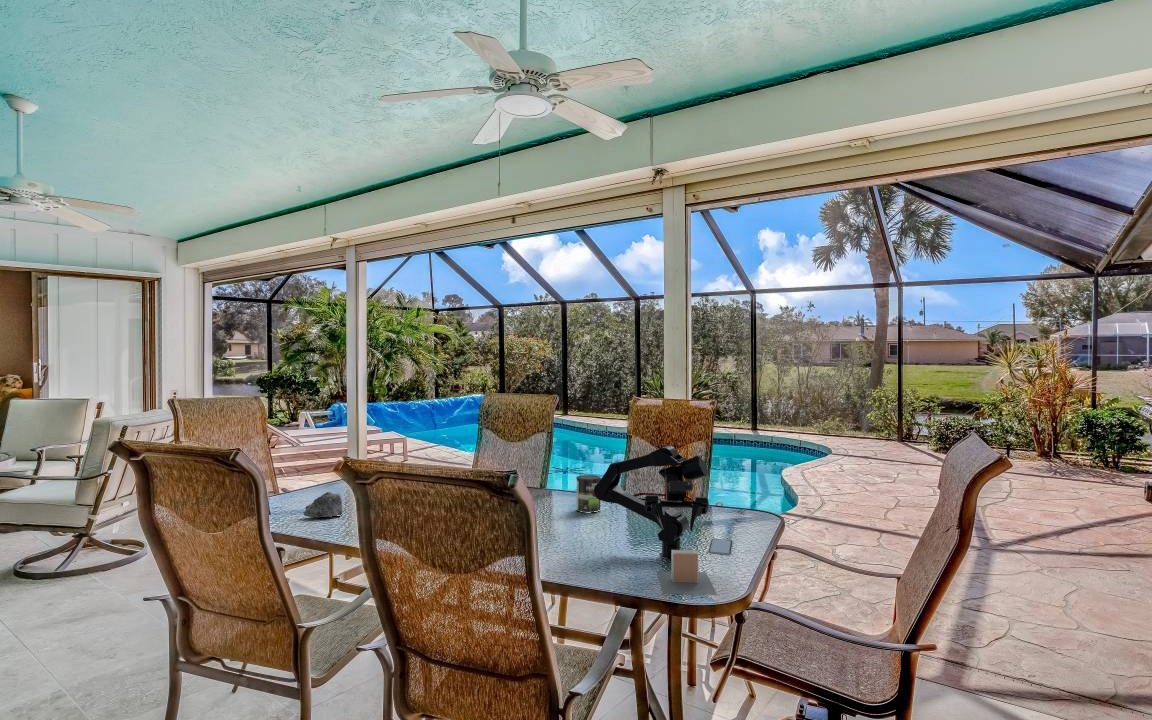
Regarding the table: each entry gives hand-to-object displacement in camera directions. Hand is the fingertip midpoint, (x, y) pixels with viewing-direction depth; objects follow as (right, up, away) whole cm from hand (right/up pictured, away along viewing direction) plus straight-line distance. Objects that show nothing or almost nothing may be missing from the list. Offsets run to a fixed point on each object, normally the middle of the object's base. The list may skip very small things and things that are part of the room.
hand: (677, 530), depth 168 cm
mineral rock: (-130, -14, +63) cm, 145 cm away
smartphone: (+19, -14, +25) cm, 34 cm away
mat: (0, -12, -10) cm, 16 cm away
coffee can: (-24, -14, +74) cm, 79 cm away
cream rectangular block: (0, -11, -9) cm, 14 cm away
